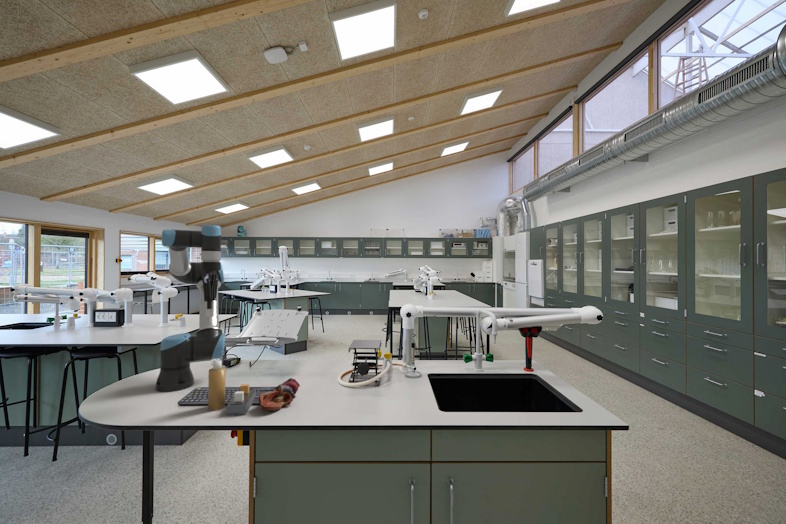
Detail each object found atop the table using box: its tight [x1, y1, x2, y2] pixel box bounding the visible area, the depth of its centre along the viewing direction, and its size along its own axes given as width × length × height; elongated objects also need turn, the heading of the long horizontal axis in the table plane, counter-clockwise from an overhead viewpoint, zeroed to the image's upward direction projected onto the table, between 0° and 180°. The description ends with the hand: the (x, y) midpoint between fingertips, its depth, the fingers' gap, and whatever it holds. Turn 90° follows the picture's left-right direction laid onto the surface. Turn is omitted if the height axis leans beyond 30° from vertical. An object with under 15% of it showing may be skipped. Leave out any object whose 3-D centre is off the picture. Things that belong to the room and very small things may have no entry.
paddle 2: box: [239, 383, 250, 394], centre depth 144 cm, size 2×3×3 cm, turn 99°
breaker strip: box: [225, 387, 257, 417], centre depth 143 cm, size 22×7×4 cm, turn 9°
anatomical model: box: [258, 377, 301, 412], centre depth 140 cm, size 11×13×15 cm
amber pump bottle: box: [207, 360, 227, 411], centre depth 138 cm, size 6×6×18 cm
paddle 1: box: [233, 390, 244, 402], centre depth 136 cm, size 2×3×3 cm, turn 99°
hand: (210, 316), depth 149 cm, fingers closed
